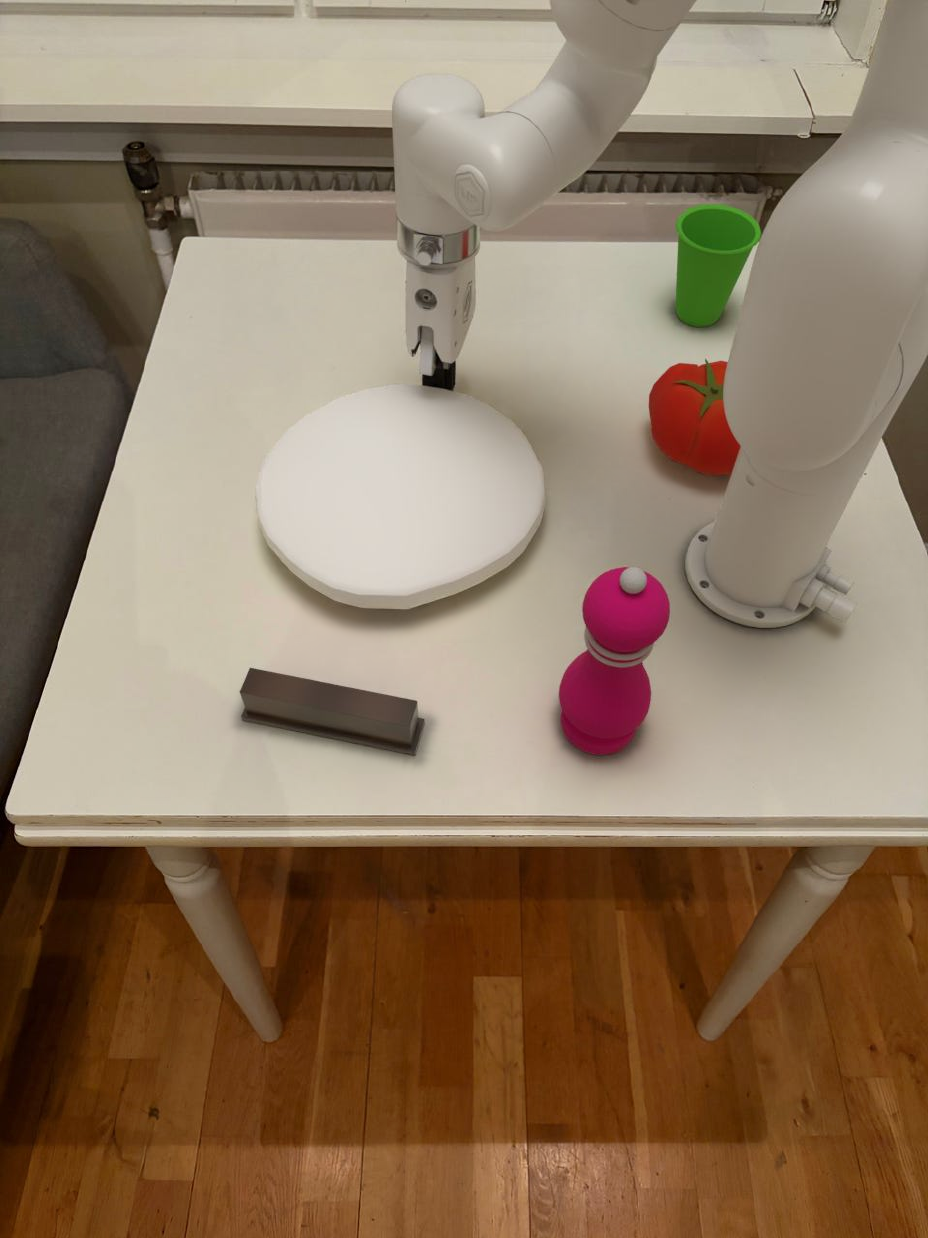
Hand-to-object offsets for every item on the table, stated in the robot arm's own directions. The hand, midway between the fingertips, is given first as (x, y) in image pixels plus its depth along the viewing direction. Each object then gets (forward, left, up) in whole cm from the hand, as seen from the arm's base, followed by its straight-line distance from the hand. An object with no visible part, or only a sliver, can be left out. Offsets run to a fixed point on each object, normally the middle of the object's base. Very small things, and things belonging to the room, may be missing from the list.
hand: (438, 388), depth 99 cm
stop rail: (-17, +36, -2) cm, 40 cm away
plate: (-7, +14, -2) cm, 16 cm away
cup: (-14, -30, -2) cm, 34 cm away
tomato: (-25, -11, -2) cm, 28 cm away
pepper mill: (-34, +23, -2) cm, 41 cm away
